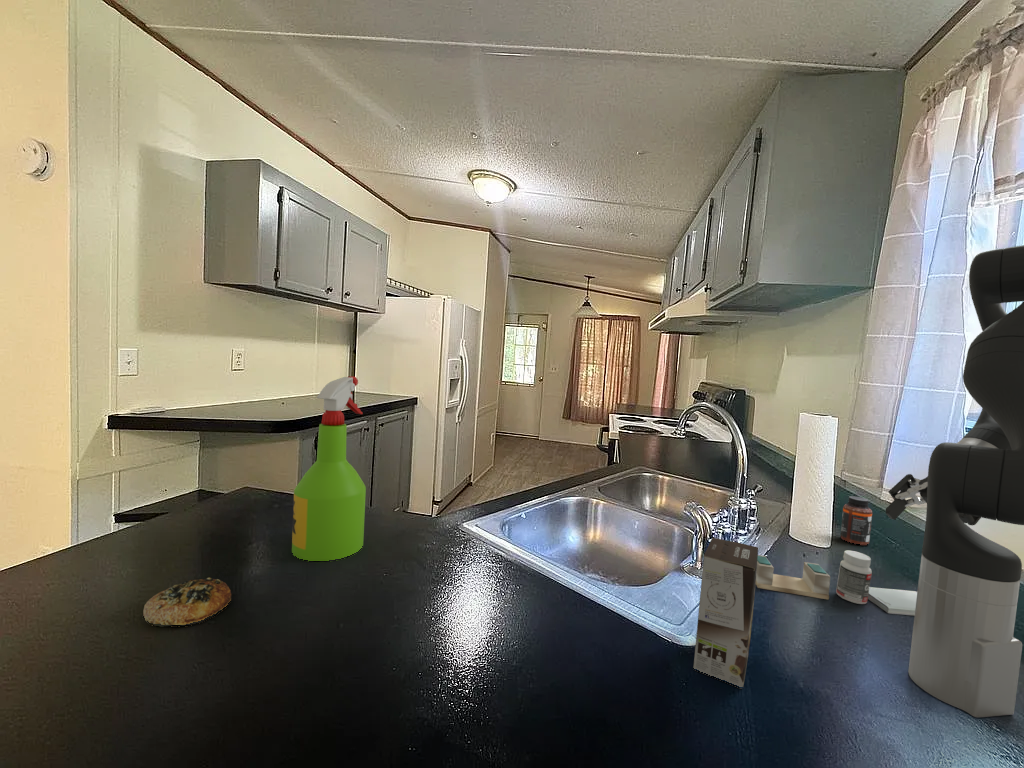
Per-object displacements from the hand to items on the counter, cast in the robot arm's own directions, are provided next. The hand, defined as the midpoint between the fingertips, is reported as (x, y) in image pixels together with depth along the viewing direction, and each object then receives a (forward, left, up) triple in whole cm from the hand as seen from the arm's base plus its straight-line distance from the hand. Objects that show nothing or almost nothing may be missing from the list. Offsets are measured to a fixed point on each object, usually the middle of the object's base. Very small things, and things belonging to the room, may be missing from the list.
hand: (911, 524), depth 86 cm
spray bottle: (+27, +110, -14) cm, 114 cm away
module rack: (+5, +21, -14) cm, 26 cm away
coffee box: (-15, +49, -15) cm, 53 cm away
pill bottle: (0, +12, -14) cm, 19 cm away
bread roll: (+3, +126, -15) cm, 127 cm away
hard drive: (-2, +2, -15) cm, 15 cm away
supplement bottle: (+26, -17, -15) cm, 34 cm away
